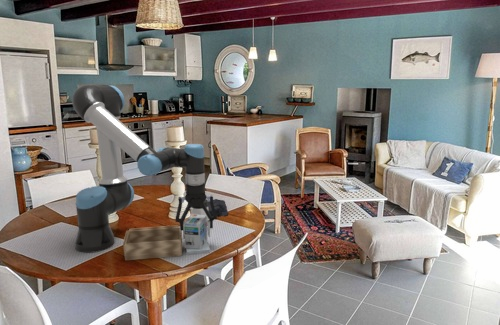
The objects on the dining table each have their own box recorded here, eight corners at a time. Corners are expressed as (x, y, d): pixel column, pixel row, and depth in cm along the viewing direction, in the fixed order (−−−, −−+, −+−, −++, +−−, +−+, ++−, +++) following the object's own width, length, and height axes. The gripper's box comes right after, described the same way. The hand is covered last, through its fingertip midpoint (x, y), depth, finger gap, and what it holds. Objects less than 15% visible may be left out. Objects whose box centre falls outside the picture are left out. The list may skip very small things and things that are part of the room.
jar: (202, 220, 188) (201, 197, 186) (212, 225, 182) (212, 200, 180) (186, 225, 182) (186, 200, 180) (197, 230, 176) (196, 204, 174)
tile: (186, 254, 151) (186, 251, 151) (185, 240, 164) (185, 237, 164) (209, 252, 153) (209, 249, 152) (206, 238, 166) (206, 236, 166)
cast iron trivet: (228, 204, 216) (228, 196, 215) (227, 217, 194) (227, 208, 193) (201, 204, 215) (201, 196, 214) (197, 217, 194) (197, 208, 193)
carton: (123, 261, 145) (122, 244, 144) (127, 244, 161) (126, 228, 159) (182, 255, 150) (182, 239, 148) (181, 240, 165) (180, 225, 164)
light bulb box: (200, 249, 153) (200, 223, 150) (184, 248, 154) (183, 222, 152) (207, 239, 163) (207, 214, 161) (192, 238, 164) (191, 213, 162)
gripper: (167, 187, 147) (169, 242, 152) (224, 184, 152) (224, 238, 156) (167, 182, 155) (169, 235, 159) (221, 179, 159) (222, 231, 164)
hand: (196, 236), depth 158 cm, fingers open, 9 cm apart
